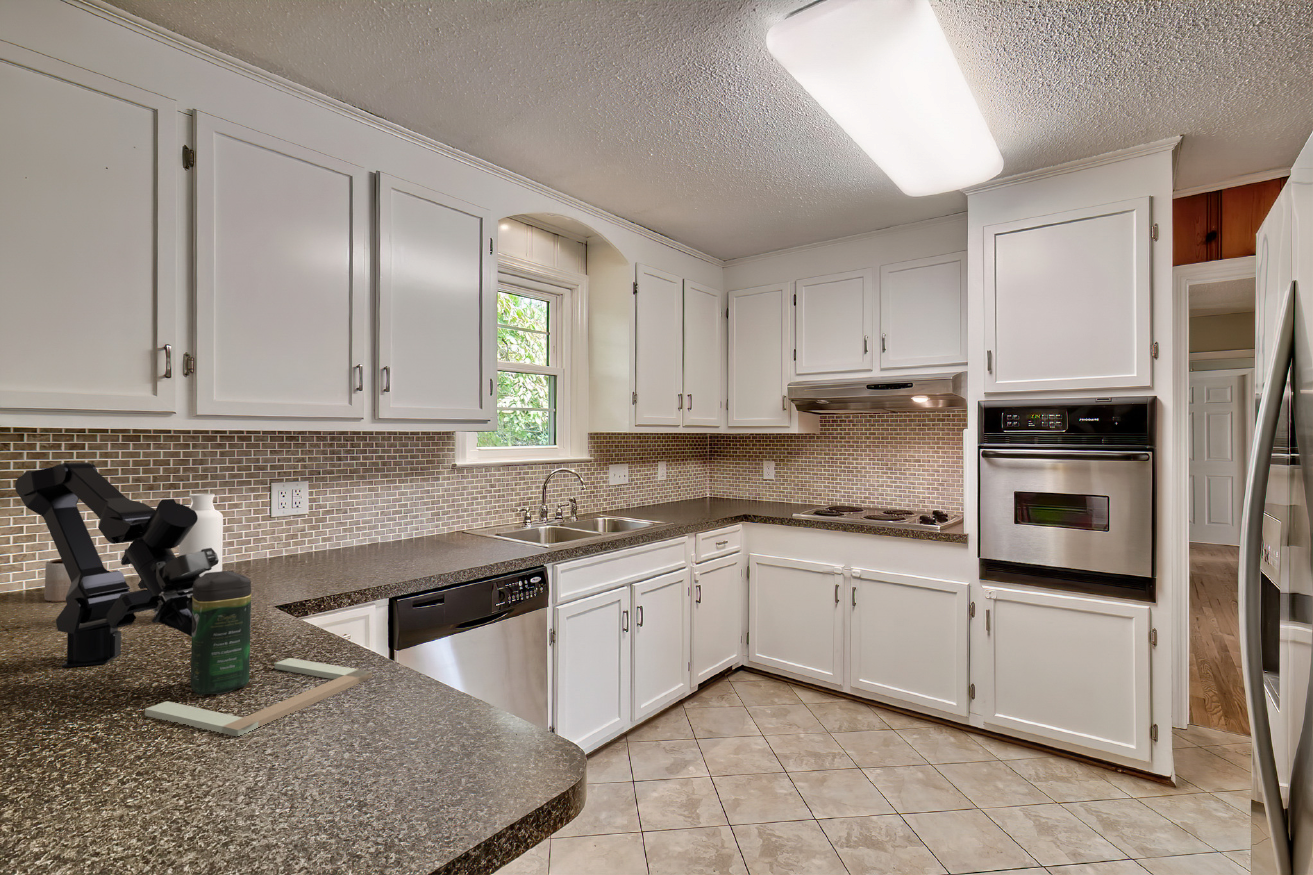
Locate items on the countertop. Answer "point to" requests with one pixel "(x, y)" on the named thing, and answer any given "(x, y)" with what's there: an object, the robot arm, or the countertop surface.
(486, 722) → the countertop surface
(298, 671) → the frame
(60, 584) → the planter
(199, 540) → the bottle
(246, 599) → the coffee jar
